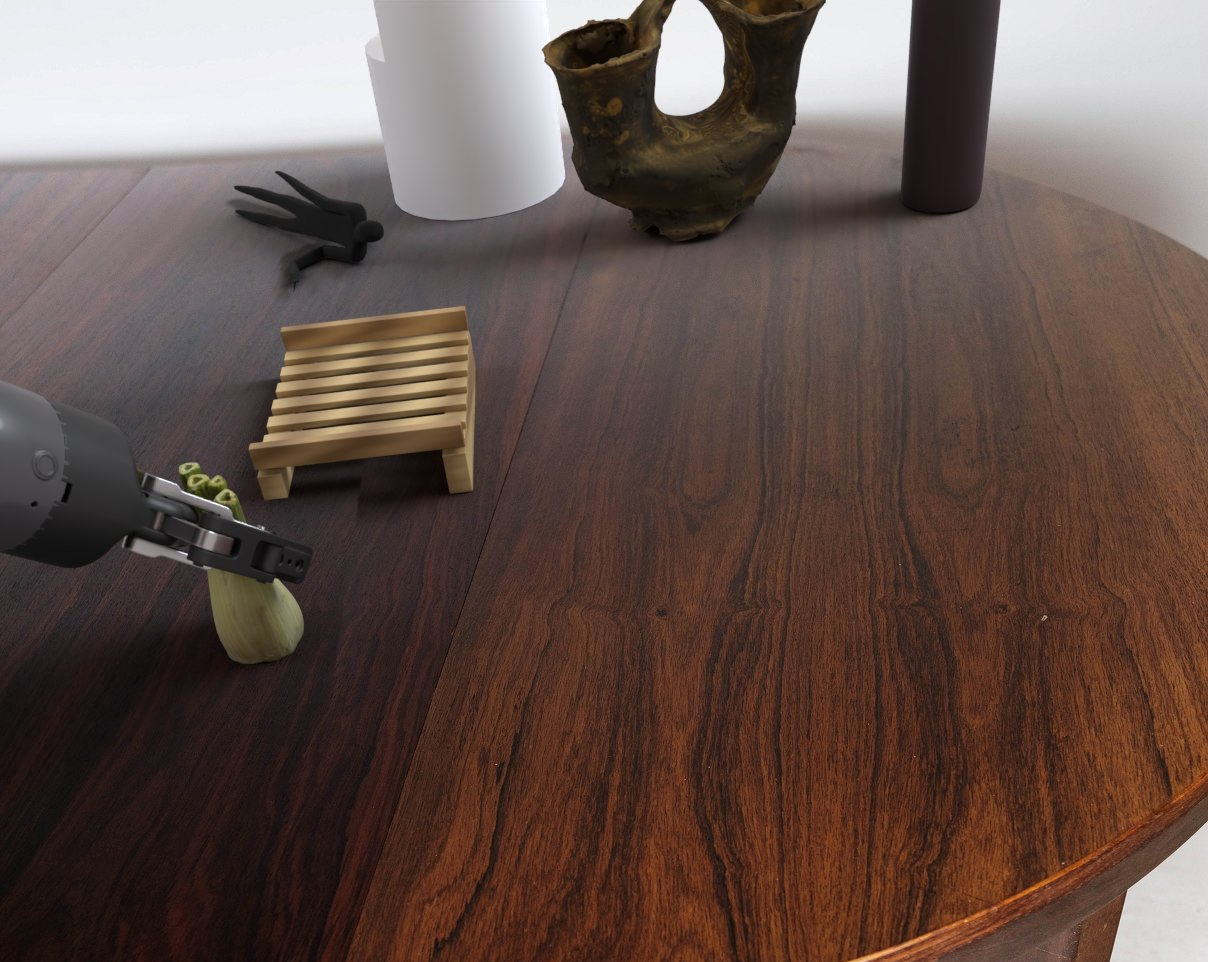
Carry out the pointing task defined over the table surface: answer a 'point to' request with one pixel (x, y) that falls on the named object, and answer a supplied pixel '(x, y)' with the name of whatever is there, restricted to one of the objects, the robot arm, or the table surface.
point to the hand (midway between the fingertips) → (260, 548)
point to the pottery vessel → (689, 142)
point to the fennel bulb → (245, 592)
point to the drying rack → (372, 396)
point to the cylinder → (466, 105)
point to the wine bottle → (948, 102)
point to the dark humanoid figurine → (317, 223)
